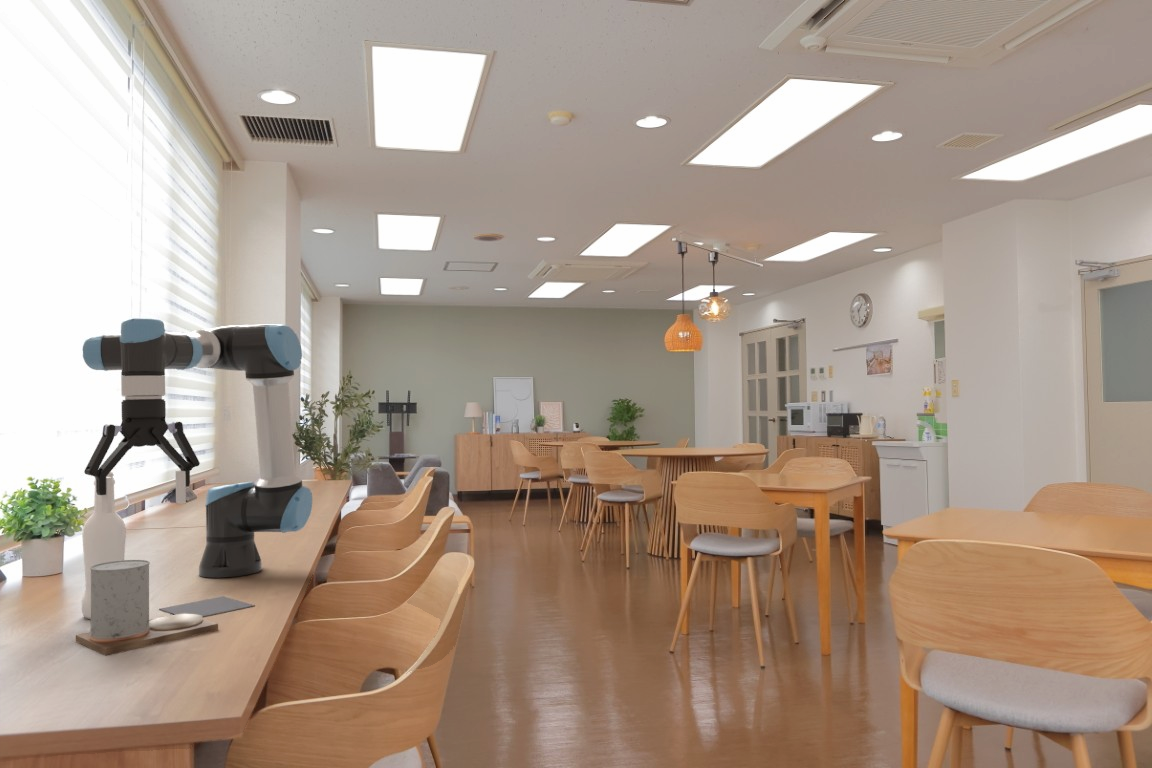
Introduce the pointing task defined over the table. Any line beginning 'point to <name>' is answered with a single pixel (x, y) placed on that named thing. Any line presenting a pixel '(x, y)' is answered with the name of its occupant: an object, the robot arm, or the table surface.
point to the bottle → (101, 542)
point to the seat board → (152, 633)
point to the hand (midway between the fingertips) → (145, 507)
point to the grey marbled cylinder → (119, 599)
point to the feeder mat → (208, 606)
